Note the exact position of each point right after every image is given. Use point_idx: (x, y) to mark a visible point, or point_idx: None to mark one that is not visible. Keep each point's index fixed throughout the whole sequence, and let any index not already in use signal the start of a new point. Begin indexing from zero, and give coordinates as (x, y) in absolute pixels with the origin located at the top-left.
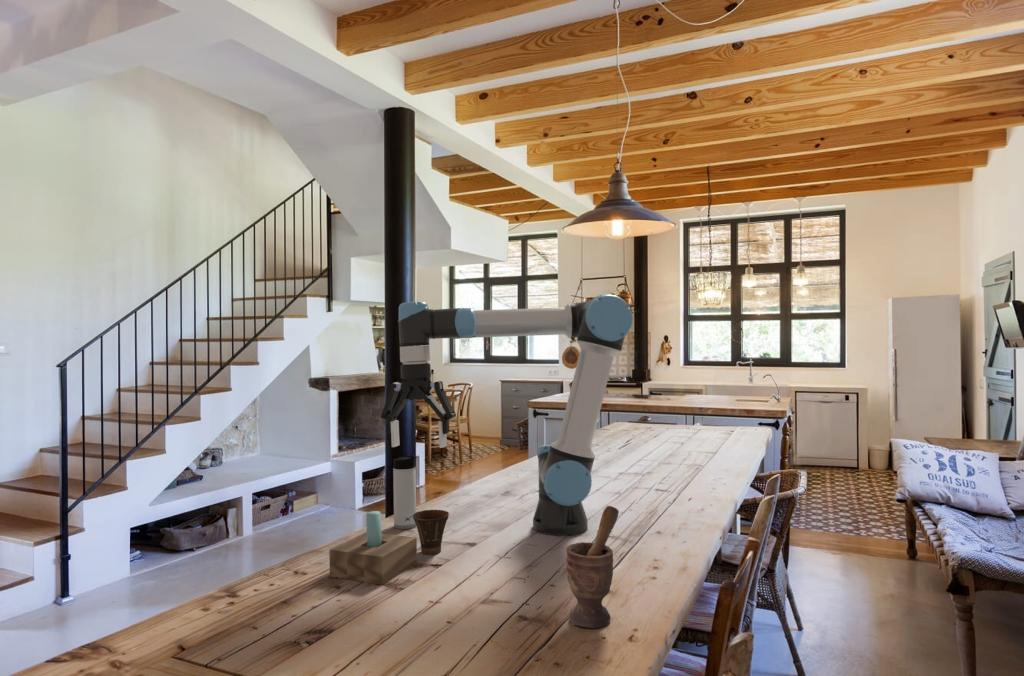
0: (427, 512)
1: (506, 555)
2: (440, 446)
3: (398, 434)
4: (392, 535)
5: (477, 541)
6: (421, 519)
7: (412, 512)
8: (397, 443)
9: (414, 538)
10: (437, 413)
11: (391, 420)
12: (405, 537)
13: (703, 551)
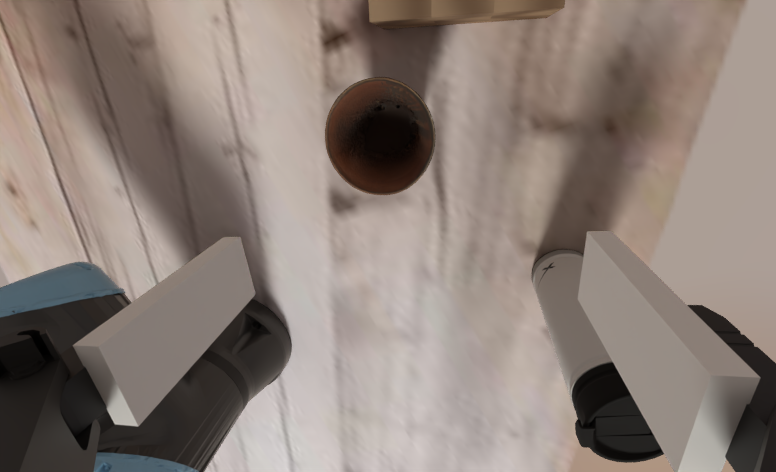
0: (413, 174)
1: (237, 160)
2: (228, 239)
3: (608, 342)
4: (452, 7)
5: (338, 222)
6: (421, 146)
7: (541, 286)
8: (587, 284)
9: (369, 9)
10: (18, 424)
11: (764, 413)
12: (401, 6)
13: (11, 279)
